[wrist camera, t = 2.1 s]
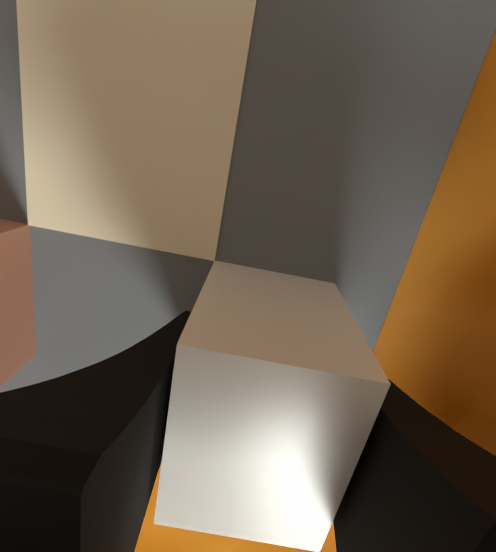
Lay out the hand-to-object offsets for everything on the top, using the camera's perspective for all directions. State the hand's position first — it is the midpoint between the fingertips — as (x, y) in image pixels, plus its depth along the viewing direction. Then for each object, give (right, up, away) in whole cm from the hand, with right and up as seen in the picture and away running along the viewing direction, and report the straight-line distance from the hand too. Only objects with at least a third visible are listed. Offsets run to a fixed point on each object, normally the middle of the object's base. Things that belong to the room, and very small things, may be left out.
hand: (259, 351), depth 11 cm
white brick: (0, 0, +1) cm, 1 cm away
